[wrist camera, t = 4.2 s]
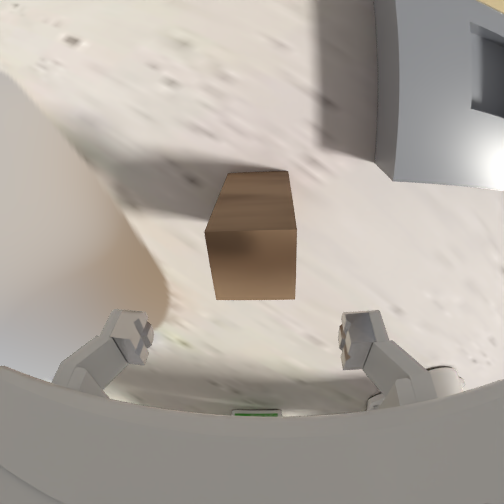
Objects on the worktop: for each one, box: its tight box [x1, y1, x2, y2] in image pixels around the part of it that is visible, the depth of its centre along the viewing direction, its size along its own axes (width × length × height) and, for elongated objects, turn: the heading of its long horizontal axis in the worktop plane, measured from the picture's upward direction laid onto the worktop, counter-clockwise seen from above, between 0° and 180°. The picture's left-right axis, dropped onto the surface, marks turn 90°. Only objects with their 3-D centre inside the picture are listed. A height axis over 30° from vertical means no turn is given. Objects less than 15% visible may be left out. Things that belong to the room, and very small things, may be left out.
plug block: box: [204, 171, 297, 300], centre depth 19 cm, size 4×4×9 cm
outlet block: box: [374, 0, 504, 191], centre depth 13 cm, size 18×18×4 cm
